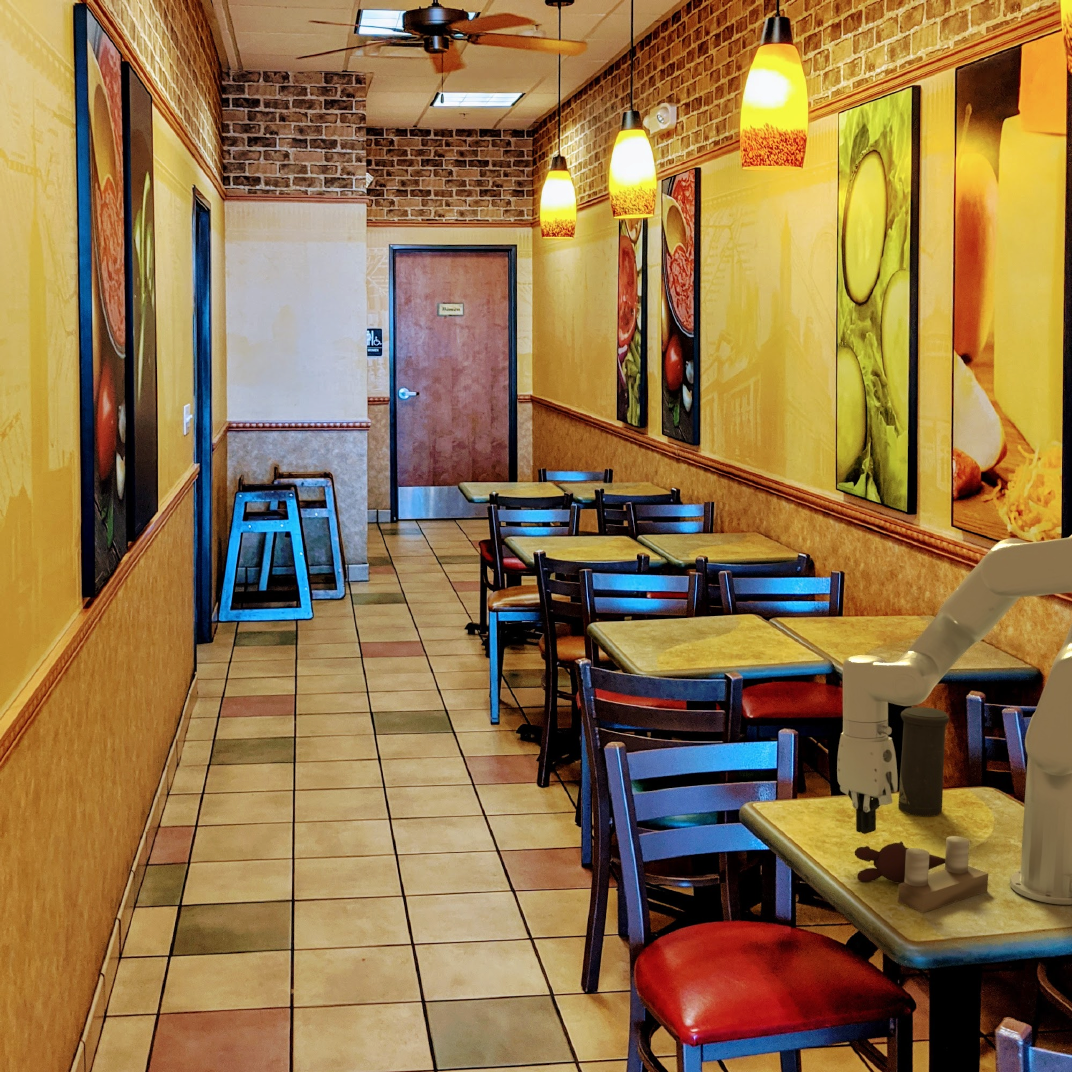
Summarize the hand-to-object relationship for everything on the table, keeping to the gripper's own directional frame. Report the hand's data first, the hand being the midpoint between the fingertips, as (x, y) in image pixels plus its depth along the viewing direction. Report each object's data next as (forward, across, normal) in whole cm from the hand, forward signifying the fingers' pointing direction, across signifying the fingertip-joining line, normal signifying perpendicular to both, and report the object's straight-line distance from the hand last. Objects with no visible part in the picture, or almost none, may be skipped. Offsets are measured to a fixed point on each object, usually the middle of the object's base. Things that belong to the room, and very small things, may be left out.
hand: (866, 831), depth 226 cm
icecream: (+6, -10, +3) cm, 12 cm away
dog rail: (+6, -18, +2) cm, 19 cm away
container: (+6, +12, -29) cm, 32 cm away
